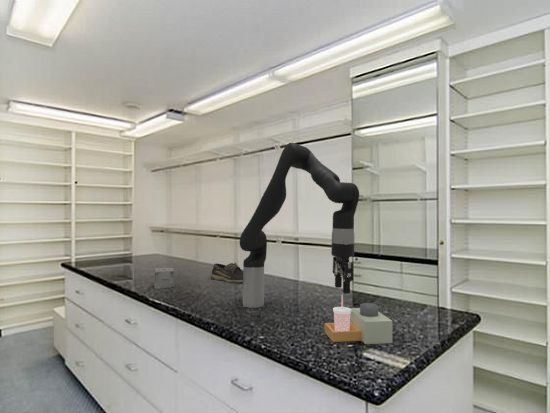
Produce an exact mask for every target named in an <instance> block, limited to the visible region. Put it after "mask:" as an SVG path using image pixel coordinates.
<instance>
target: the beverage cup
mask: <svg viewBox="0 0 550 413" xmlns="http://www.w3.org/2000/svg"><path fill="white" fill-rule="evenodd" d="M340 305H341V306H335V307H333V308H332V311H333V323H334V324H335V331H349V329H350V314H351V309H350V308H351V307H346V306H344V293H341V304H340Z"/></svg>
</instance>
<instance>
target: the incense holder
mask: <svg viewBox="0 0 550 413" xmlns="http://www.w3.org/2000/svg"><path fill="white" fill-rule="evenodd" d="M174 270H175V269H174V267H171V266H170V267H155V268H154V290H159V289H172V288H174V287H175V286H174V280H175V279H174V278H175V277H174V275H175V273H174V272H175V271H174Z"/></svg>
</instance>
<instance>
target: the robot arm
mask: <svg viewBox="0 0 550 413" xmlns="http://www.w3.org/2000/svg"><path fill="white" fill-rule="evenodd" d="M280 154H281V155H280V156H279V159H278V162H277V164H276V167H275V170H274V172H273V174H272V176H271V179H270V180H269V182H268V185H267V187H266V188H265V191H264V192H263V194H262V196H261V199H260V201H259V203H258V205H257V207H256V209H255V211H254V213H253V215H252V216H251V217H250V220H249V222H248V223H247V224H246V226H245V228H244V229H243V231H242V232H241V233H240V234H241V235H240V236H239V247H240V249H241V250H242V251H245V252H249V255H248V256H247V257H246V258H245V259H244V260H243V261H242V262H243V263H242V264H243V265H242V267H243V269H242V271H243V282H242V307H243V308H248V309H249V308H250V309H257V308H261V307H264V306H265V262H266V260H267V251H268V250H267V249H268V248H267V246H268V245H267V244H268V239H267V236H266V233H265V232H264V231H263V230H264V227H265V226H266V225H267V224H268V223H269V222H271V220H272V219H274V218H275V217H276V216H277V215H278V213H279V212H280V211H281V209H282V207H283V205H284V203H285V201H286V198H287V186H286V180H287V176H288V173H289V171H290V169H291V168H294V169H298V170H303V171H304V172H306V173H308V174H310V177H311V179H312V181H313V183H315V184H316V185H317V186H318V187H320V188H321V189H322V190H323V192H324V194H325V195H326V197H327V199H328V200H329V201H330V202H332V203H334V204H342V206H341V207H340V209H339V210H336V211H334V212H332V213H333V214H332V230H331V251H330V252H331V256H332V257H333V258H332V273H333V274H334V287H335V289H337V288H339V289H340V288H342V294H350V293H351V282H353V281H354V261H350V258H353V257H354V256H355V229H354V228H355V213H356V211H357V208H358V204H359V200H360V190H359V188H358V186H357V185H356V184H355V183H353V182H343V181H342V182H341V180H340V177H339V175H337V173H336V172H334V171H332V170H331V169H330V168H328V167H327V166H326V165H324V164H323V163H322V162H321V161H320V160H318V158H317V157H316V156H315V154H314V153H313V152H312V151H311V150H310V149H309V148H308V147H306V146H304V145H301V144H298V143H295V142H288V143H287V144H286V145H285V146H284V148H283V150H282V152H281V153H280Z"/></svg>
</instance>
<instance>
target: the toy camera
mask: <svg viewBox="0 0 550 413" xmlns="http://www.w3.org/2000/svg"><path fill="white" fill-rule="evenodd" d="M349 308H350V309H351V314H350V329H349V331H335V324H334V322H324V333H325V334H326V335H327V337H328V338H329V339H330V340H331V341H332V343H337V342H339V343H341V342H342V343H343V342H358V341H359V342H362V343H364V345H376V344H377V345H381V344H393V320H392V319H390V318H389V317H387V316H386V315H384V314H382V313H381V312H380V311H379V305H378V304H376V303H371V302H362V303H360V304H359V307H349Z"/></svg>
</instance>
